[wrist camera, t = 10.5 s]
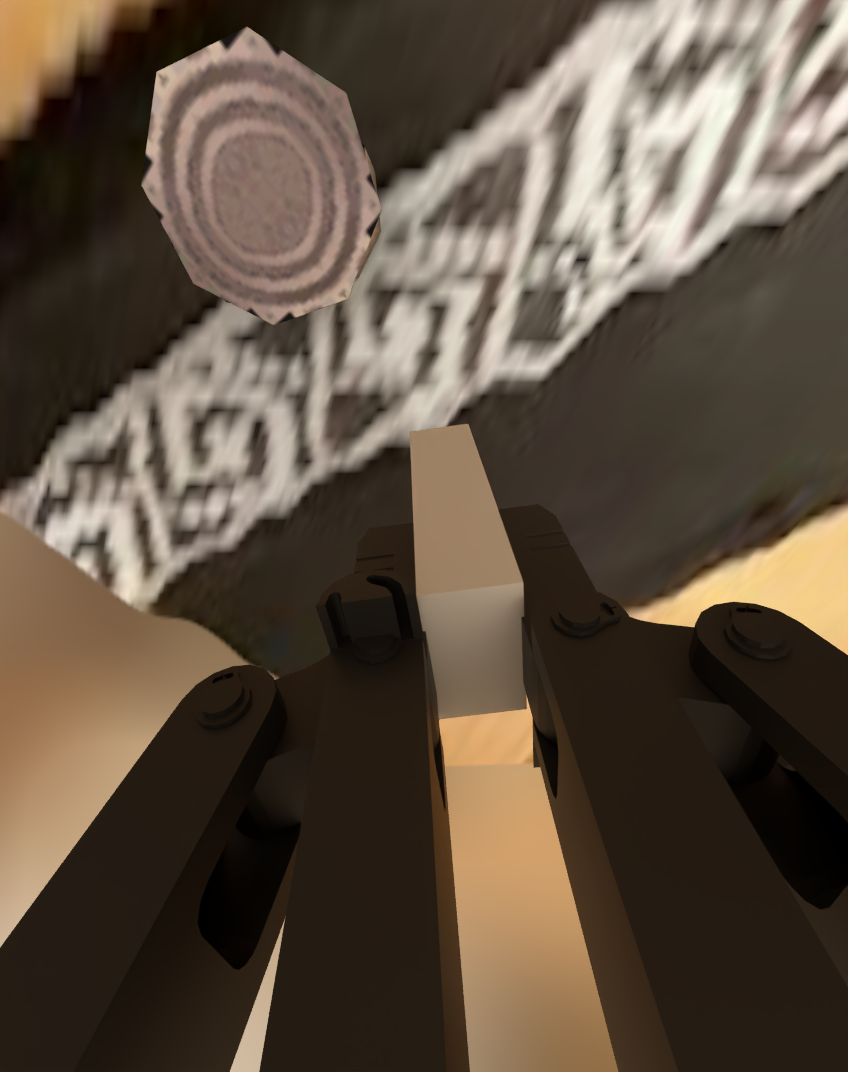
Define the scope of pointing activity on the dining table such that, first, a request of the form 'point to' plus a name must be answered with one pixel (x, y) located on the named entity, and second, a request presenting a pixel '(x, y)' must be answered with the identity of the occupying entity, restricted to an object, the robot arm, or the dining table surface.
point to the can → (260, 178)
